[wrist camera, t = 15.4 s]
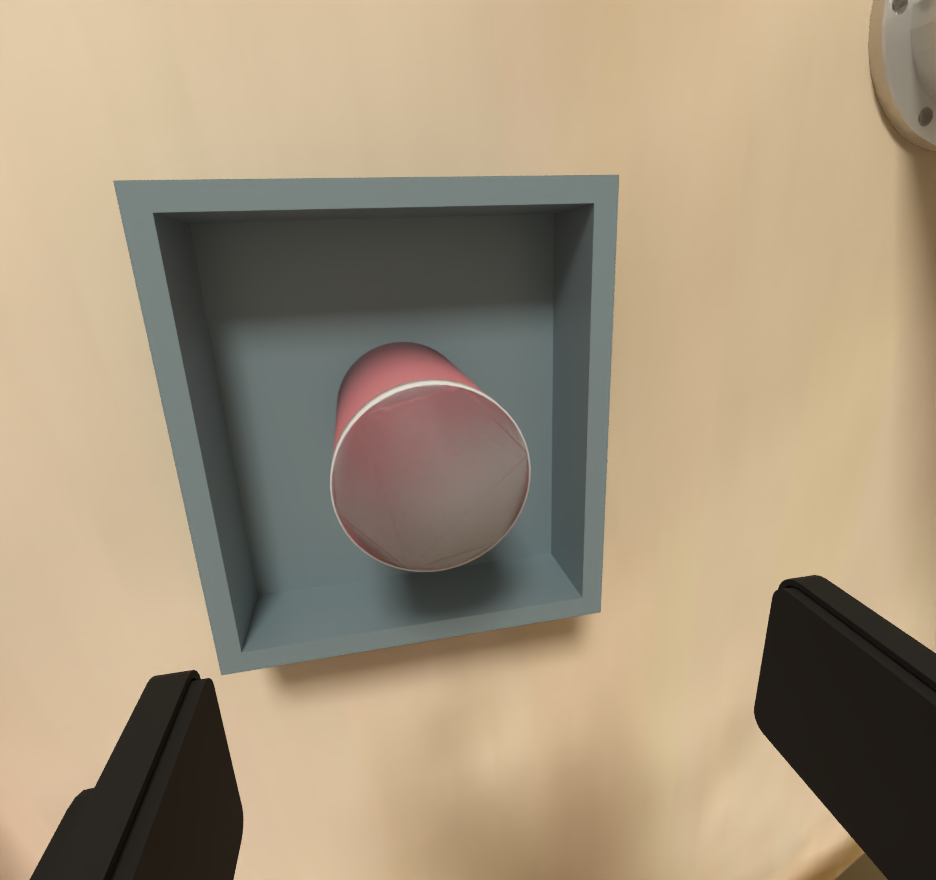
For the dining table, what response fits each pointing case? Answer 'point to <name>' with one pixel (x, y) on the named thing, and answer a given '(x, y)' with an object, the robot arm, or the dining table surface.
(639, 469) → the dining table surface
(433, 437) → the soup can
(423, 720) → the dining table surface
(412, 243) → the tote
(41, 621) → the dining table surface
